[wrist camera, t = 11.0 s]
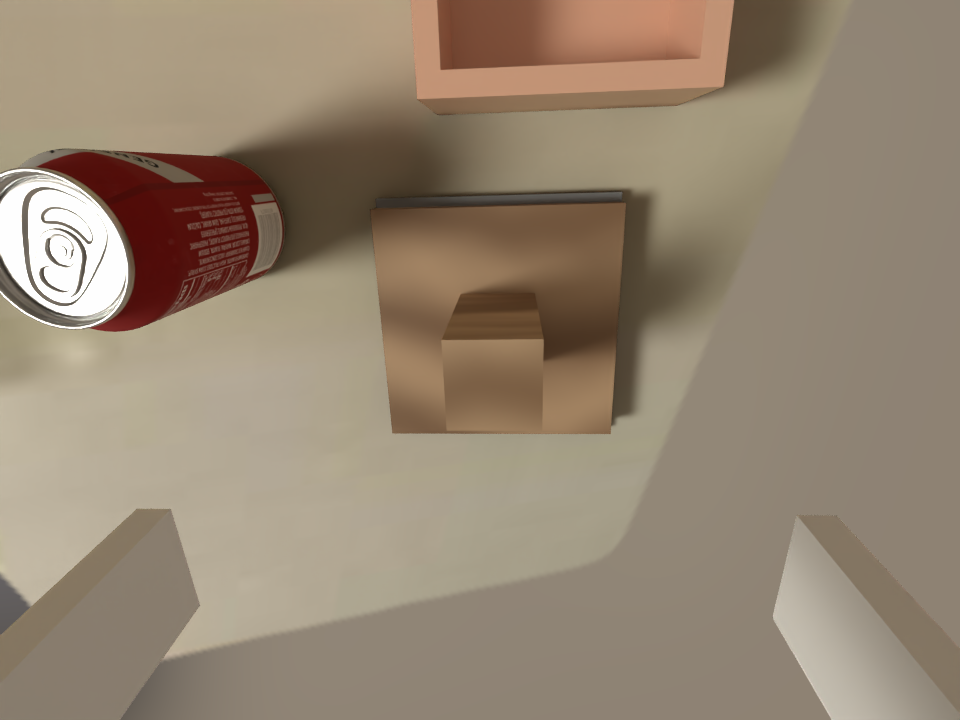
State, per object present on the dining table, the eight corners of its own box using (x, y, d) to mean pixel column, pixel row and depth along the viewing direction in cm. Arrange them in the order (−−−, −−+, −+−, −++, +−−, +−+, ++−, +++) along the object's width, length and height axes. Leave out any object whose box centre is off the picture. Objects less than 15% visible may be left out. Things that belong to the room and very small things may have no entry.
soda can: (307, 193, 28) (168, 207, 17) (269, 300, 30) (125, 376, 19) (190, 133, 27) (-39, 105, 16) (160, 247, 29) (-58, 294, 18)
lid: (375, 208, 27) (313, 225, 19) (621, 201, 26) (674, 215, 18) (396, 424, 32) (353, 517, 23) (606, 424, 31) (643, 521, 22)
